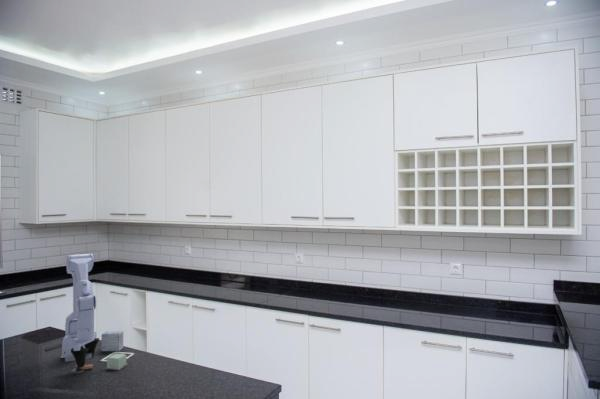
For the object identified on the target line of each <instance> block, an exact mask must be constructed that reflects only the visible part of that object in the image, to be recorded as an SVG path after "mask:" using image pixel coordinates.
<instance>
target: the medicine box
mask: <svg viewBox="0 0 600 399" xmlns="http://www.w3.org/2000/svg"><path fill="white" fill-rule="evenodd" d="M123 348H124V331H123V330H105V331H104V332H103V333H101V352H121V350H123Z"/></svg>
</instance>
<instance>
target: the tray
mask: <svg viewBox="0 0 600 399" xmlns="http://www.w3.org/2000/svg"><path fill="white" fill-rule="evenodd" d="M114 354H125V355H128V356H126V360H128V359H129V358H131V357H132V356H134V355H136V354H135V352H124V351H123V352H122V351H112V353H109V355H107V356H105V357H104V358H102V359H100V360H99V362H104V363H107V359H108V358H109V357H111V356H112V355H114Z"/></svg>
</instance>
